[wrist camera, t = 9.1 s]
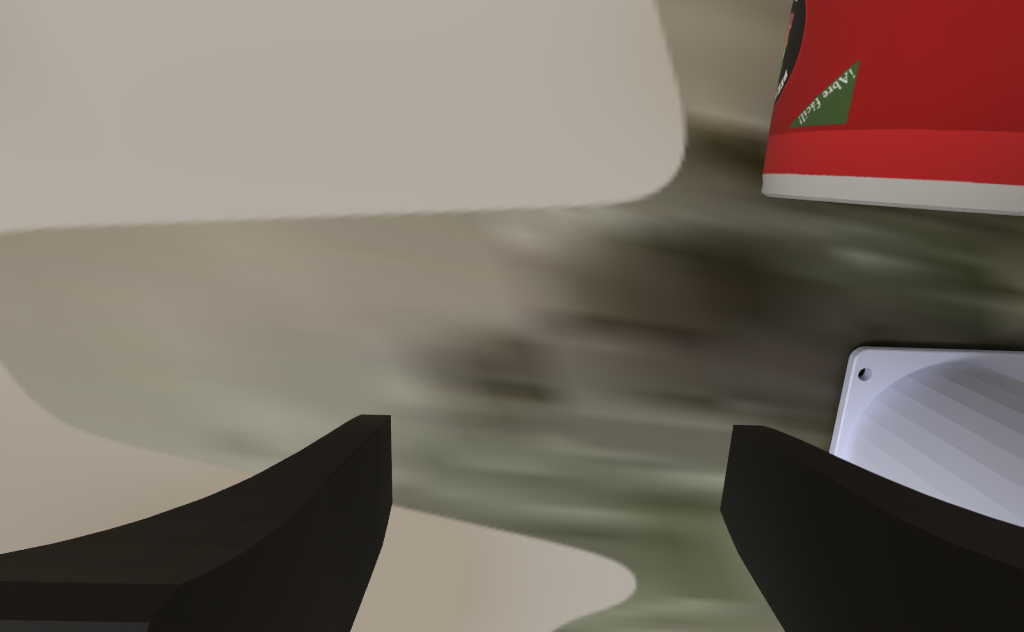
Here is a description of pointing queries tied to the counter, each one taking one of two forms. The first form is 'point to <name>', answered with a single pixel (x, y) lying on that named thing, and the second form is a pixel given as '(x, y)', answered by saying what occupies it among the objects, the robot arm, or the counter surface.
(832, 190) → the canned food
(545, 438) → the counter surface
